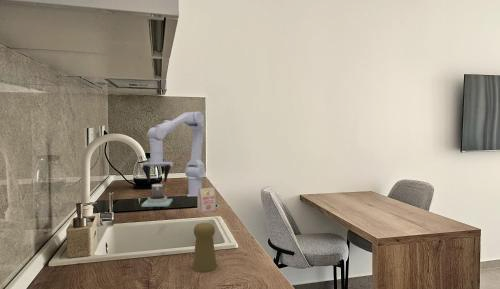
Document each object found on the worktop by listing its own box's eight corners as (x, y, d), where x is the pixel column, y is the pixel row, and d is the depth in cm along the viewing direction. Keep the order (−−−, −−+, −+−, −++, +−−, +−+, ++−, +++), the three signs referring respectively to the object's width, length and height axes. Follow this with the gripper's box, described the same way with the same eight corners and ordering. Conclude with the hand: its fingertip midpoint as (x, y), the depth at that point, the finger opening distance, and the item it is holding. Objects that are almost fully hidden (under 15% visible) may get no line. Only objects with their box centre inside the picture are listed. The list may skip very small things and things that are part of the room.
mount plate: (147, 201, 168) (147, 199, 168) (172, 200, 169) (172, 198, 168) (141, 206, 156) (141, 204, 156) (168, 206, 157) (168, 203, 157)
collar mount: (150, 199, 166) (150, 195, 166) (168, 199, 167) (168, 195, 167) (146, 203, 158) (146, 199, 157) (165, 203, 158) (165, 198, 158)
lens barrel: (153, 200, 164) (153, 183, 164) (163, 200, 165) (163, 183, 165) (151, 202, 160) (150, 185, 159) (162, 202, 160) (161, 185, 160)
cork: (190, 264, 88) (189, 222, 87) (212, 261, 90) (212, 219, 90) (196, 273, 82) (195, 228, 82) (220, 269, 85) (219, 225, 84)
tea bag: (197, 211, 146) (197, 188, 145) (212, 209, 149) (212, 186, 149) (200, 213, 143) (200, 189, 142) (215, 211, 146) (215, 187, 145)
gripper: (138, 153, 157) (139, 183, 157) (170, 153, 158) (171, 182, 158) (142, 152, 164) (143, 181, 164) (173, 152, 165) (173, 180, 165)
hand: (157, 181), depth 162 cm, fingers open, 7 cm apart
